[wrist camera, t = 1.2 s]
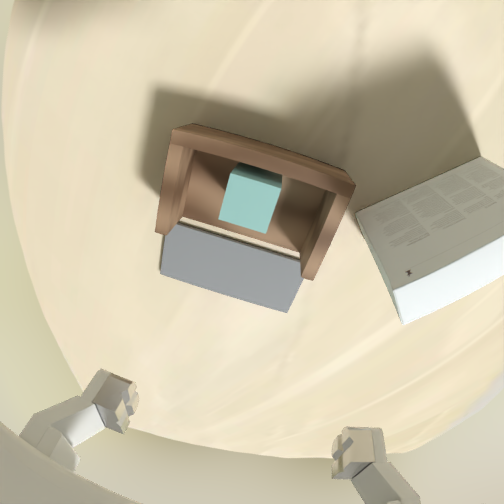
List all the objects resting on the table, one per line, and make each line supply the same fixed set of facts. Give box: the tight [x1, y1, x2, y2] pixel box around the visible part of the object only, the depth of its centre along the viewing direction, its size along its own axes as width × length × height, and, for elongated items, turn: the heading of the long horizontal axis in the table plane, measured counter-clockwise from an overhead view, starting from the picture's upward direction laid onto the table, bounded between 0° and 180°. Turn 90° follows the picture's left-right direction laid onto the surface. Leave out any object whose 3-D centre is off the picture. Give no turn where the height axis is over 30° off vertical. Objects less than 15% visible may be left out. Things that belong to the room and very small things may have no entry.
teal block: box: [218, 162, 282, 234], centre depth 31 cm, size 5×5×7 cm
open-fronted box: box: [155, 124, 356, 281], centre depth 33 cm, size 12×19×6 cm, turn 74°
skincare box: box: [355, 157, 504, 325], centre depth 26 cm, size 21×6×16 cm, turn 120°
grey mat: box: [160, 222, 304, 313], centre depth 41 cm, size 9×20×1 cm, turn 74°
